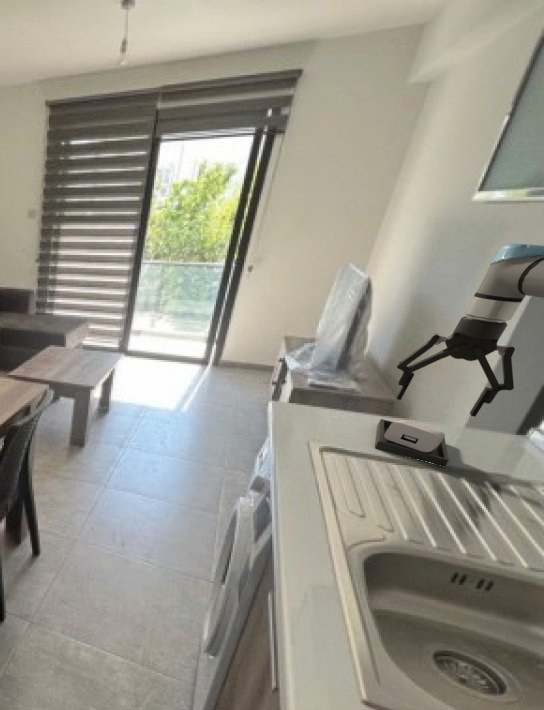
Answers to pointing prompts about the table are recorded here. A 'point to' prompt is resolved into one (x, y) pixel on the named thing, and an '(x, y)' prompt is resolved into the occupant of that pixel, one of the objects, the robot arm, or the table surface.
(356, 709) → the table surface
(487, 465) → the table surface
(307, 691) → the table surface
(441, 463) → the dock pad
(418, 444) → the charger
